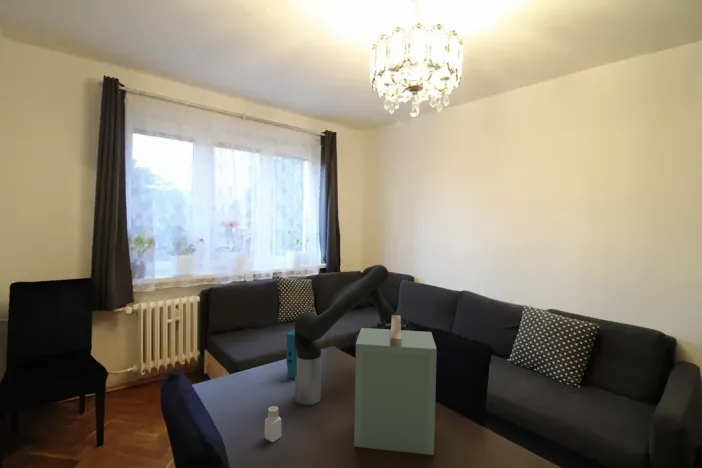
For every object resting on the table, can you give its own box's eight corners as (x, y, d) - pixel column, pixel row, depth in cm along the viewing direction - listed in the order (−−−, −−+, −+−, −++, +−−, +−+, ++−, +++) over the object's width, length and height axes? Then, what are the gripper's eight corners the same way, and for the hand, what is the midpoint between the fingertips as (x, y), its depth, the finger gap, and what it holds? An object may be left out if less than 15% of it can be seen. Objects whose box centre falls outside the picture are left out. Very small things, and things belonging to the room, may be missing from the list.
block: (294, 381, 148) (295, 335, 147) (285, 378, 150) (285, 333, 149) (310, 370, 158) (311, 328, 158) (301, 368, 161) (302, 326, 160)
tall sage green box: (354, 446, 105) (355, 343, 104) (359, 417, 121) (361, 327, 120) (433, 455, 102) (436, 349, 101) (428, 423, 118) (431, 332, 117)
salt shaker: (263, 438, 108) (264, 409, 108) (273, 432, 112) (273, 404, 111) (272, 443, 106) (273, 413, 106) (282, 437, 109) (282, 407, 109)
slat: (390, 346, 103) (390, 338, 103) (391, 321, 129) (391, 315, 129) (401, 346, 102) (401, 338, 102) (400, 321, 128) (400, 315, 128)
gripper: (378, 324, 145) (377, 313, 131) (412, 326, 143) (415, 315, 129) (377, 342, 141) (376, 333, 127) (412, 344, 140) (415, 335, 125)
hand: (395, 324), depth 128 cm, fingers open, 8 cm apart
